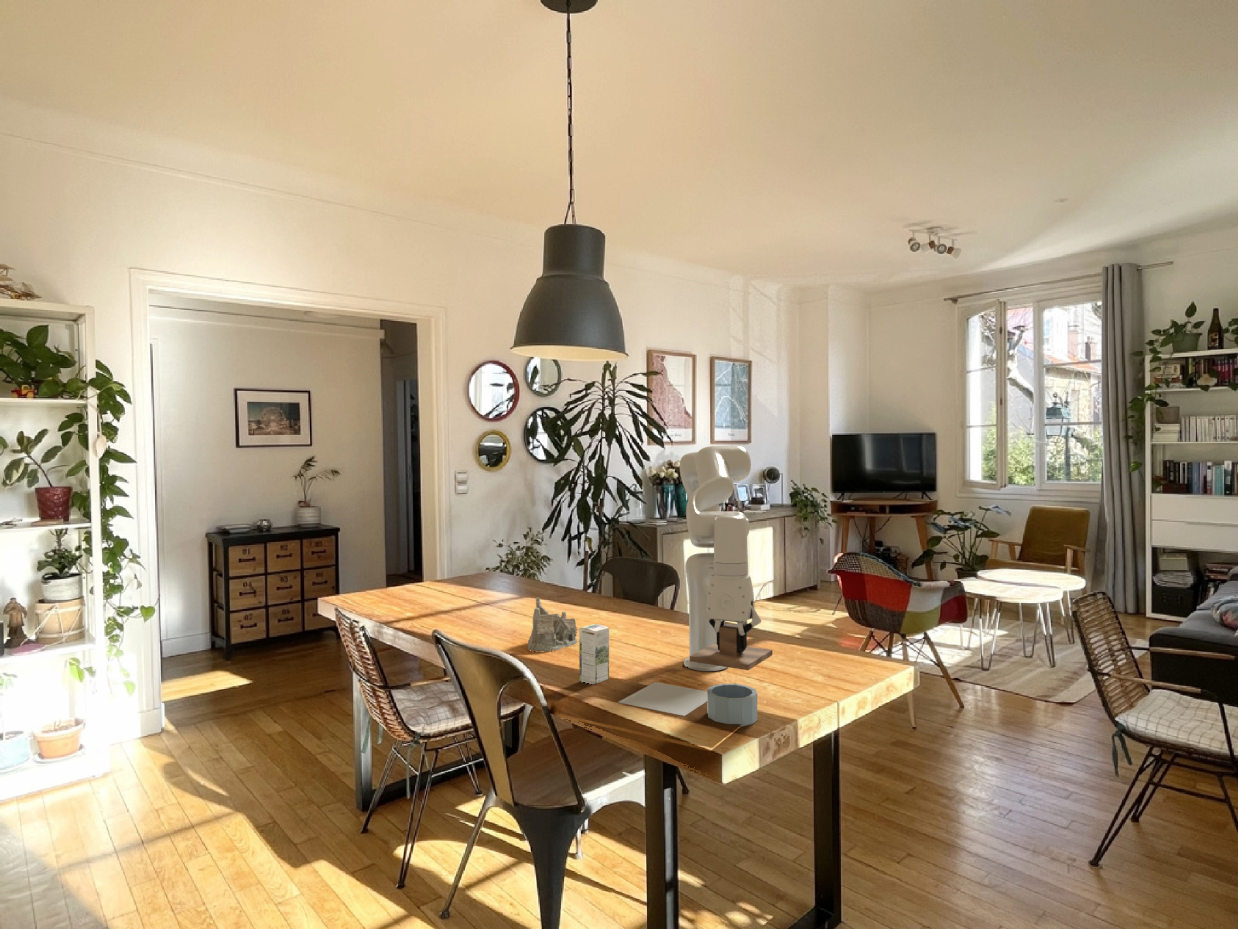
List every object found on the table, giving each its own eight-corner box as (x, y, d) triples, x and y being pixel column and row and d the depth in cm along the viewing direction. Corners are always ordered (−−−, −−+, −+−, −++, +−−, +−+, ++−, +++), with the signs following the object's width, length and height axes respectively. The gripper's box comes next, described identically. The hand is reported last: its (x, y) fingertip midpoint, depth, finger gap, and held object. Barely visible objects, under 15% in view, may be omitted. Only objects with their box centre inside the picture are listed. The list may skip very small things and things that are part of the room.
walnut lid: (716, 647, 180) (716, 617, 180) (772, 655, 172) (772, 623, 172) (689, 661, 168) (689, 629, 168) (748, 670, 160) (747, 636, 160)
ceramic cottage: (524, 652, 227) (526, 602, 228) (530, 640, 244) (532, 594, 244) (575, 655, 227) (578, 605, 228) (578, 643, 244) (580, 596, 244)
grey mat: (655, 684, 195) (655, 682, 195) (718, 696, 186) (718, 693, 186) (617, 704, 180) (617, 702, 180) (684, 718, 170) (684, 715, 170)
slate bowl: (720, 706, 178) (720, 681, 178) (764, 714, 172) (764, 688, 172) (699, 720, 169) (699, 694, 169) (745, 730, 163) (744, 702, 163)
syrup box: (593, 676, 202) (592, 623, 202) (610, 680, 199) (609, 626, 198) (579, 682, 198) (578, 627, 198) (595, 686, 194) (595, 630, 194)
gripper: (690, 569, 171) (691, 649, 172) (759, 574, 162) (760, 659, 162) (704, 564, 178) (705, 642, 178) (772, 570, 168) (772, 651, 169)
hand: (731, 649), depth 170 cm, fingers closed on walnut lid, 4 cm apart
